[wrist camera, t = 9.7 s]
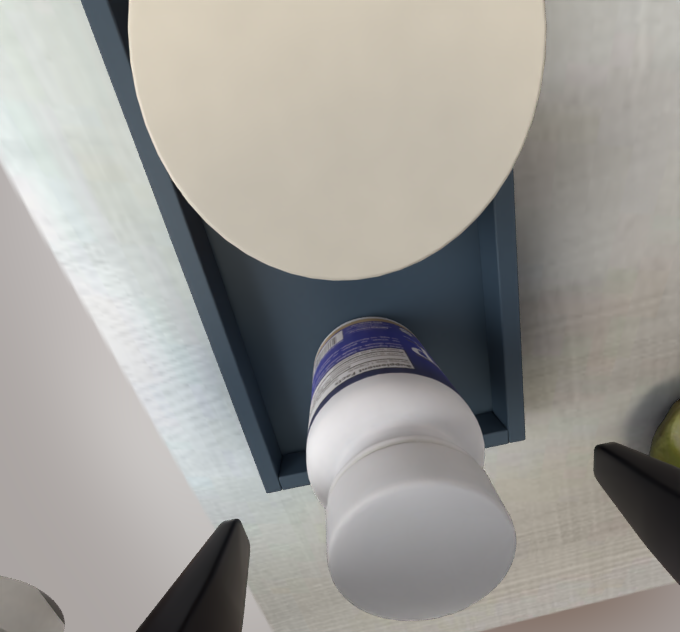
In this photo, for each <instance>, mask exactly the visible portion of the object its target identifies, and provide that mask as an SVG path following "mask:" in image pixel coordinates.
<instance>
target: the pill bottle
mask: <svg viewBox="0 0 680 632" xmlns="http://www.w3.org/2000/svg"><path fill="white" fill-rule="evenodd" d="M484 458H485V447H484V440H483V435H482V432H481V428H480V426H479V424H478V421H477V419H476V418H475V416H474V414H473V412H472V411H471V409H470V408H469V406H468V404H467V403H466V402H465V401H464V399H463V398H462V396H461V395H460V394H459V393H458V391H457V390H456V389H455V387H454V386H453V385H452V384H451V382H450V381H449V380H448V378H447V377H446V376H445V374H444V373H443V372H442V371H441V369H440V368H439V367H438V365H437V364H436V363H435V361H434V360H433V359H432V357H431V356H430V355H429V354H428V352H427V351H426V349H425V348H424V347H423V345H422V344H421V343H420V341H419V340H418V339H417V338H416V336H415V335H414V334H413V333H412V332H411V331H410V330H408V329H407V328H406V327H404V326H403V325H401V324H399V323H397V322H395V321H393V320H390V319H387V318H382V317H362V318H357V319H354V320H351V321H348V322H346V323H344V324H342V325H340V326H339V327H337V328H336V329H335V330H333V331H332V332H331V333H330V334H329V335H328V336H327V337H326V338H325V340H324V341H323V343H322V344H321V346H320V348H319V350H318V352H317V355H316V358H315V362H314V369H313V382H312V395H311V406H310V415H309V425H308V434H307V445H306V464H307V472H308V477H309V481H310V484H311V487H312V489H313V491H314V493H315V495H316V497H317V499H318V501H319V502H320V503H321V504H322V506H323V507H324V508H325V509H326V541H327V562H328V567H329V571H330V574H331V577H332V580H333V582H334V584H335V586H336V587H337V589H338V590H339V592H340V593H341V594H342V595H343V596H344V597H345V598H346V599H347V600H348V601H349V602H351V603H352V604H353V605H354V606H356V607H357V608H359V609H361V610H363V611H365V612H367V613H370V614H372V615H375V616H378V617H382V618H386V619H393V620H399V621H419V620H429V619H435V618H440V617H443V616H446V615H451V614H453V613H456V612H458V611H461V610H463V609H465V608H467V607H469V606H471V605H473V604H475V603H476V602H478V601H479V600H481V599H482V598H484V597H485V596H486V595H488V594H489V593H490V592H491V591H492V590H493V589H495V588H496V587H497V585H498V584H499V583H500V582H501V581H502V580H503V578H504V577H505V575H506V574H507V572H508V570H509V568H510V566H511V565H512V562H513V559H514V555H515V551H516V533H515V529H514V525H513V522H512V520H511V517H510V515H509V513H508V511H507V510H506V508H505V506H504V504H503V503H502V501H501V499H500V497H499V496H498V494H497V492H496V490H495V488H494V487H493V485H492V483H491V481H490V479H489V477H488V475H487V474H486V472H485V471H484V470H483V466H484Z"/></svg>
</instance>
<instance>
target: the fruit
mask: <svg viewBox="0 0 680 632" xmlns="http://www.w3.org/2000/svg"><path fill="white" fill-rule="evenodd" d="M649 456H651V457H653V458H656V459H658V460H661V461H663V462H666V463H668V464H671V465H673V466H676V467H678V468H680V399H679V400H677V401H676V402H675V403H674V404H673V405H672V407H671V408H670V410H669V412H668V413H667V415H666V417H665V419H664V420H663V422H662V423H661V424H660V426H659V427H658V429H657V431H656V433H655V435H654V437H653V440H652V445H651V450H650V455H649Z"/></svg>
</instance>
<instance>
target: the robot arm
mask: <svg viewBox="0 0 680 632" xmlns="http://www.w3.org/2000/svg"><path fill="white" fill-rule="evenodd" d="M594 475H595V477H596V479H597V481H598V482H599V484H600V485H601V486H602V488H603V489H604V490H605V492H606V493H607V495H608V496H609V497H610V499H611V500H612V501H613V503H614V504H615V505H616V507H617V508H618V509H619V511H620V512H621V513H622V515H623V516H624V517H625V519H626V520H627V521H628V523H629V524H630V525H631V527H632V528H633V529H634V531H635V532H636V533H637V535H638V536H639V537H640V539H641V540H642V541H643V543H644V544H645V545H646V546H647V548H648V549H649V550H650V551H651V553H652V554H653V555H654V556H655V557H656V558H657V560H658V561H659V562H660V563H661V564H662V565H663V567H664V568H665V569H666V570H667V571H668V572H669V573H670V575H671V576H672V577H673V578H674V579H675V580H676V581H677V583H678V584H679V585H680V468H678V467H676V466H673V465H671V464H668V463H666V462H663V461H661V460H658V459H656V458H653V457H651V456H648V455H646V454H643V453H641V452H638V451H636V450H633V449H631V448H628V447H626V446H623V445H621V444H618V443H615V442H609V443H604V444H599V445H597V446H596V447H595V449H594ZM249 557H250V543H249V540H248V537H247V535H246V532H245V530H244V528H243V525H242V523H241V521H240V520H239V519H232V520H228V521H224V522H222V523H221V524H220V525H219V526H218V528H217V529H216V530H215V531H214V533H213V534H212V535H211V537H210V538H209V539H208V540H207V542H206V543H205V544H204V546H203V547H202V548H201V549H200V551H199V552H198V553H197V554H196V556H195V557H194V558H193V559H192V561H191V562H190V563H189V565H188V566H187V567H186V568H185V570H184V571H183V572H182V573H181V575H180V576H179V577H178V579H177V580H176V581H175V582H174V584H173V585H172V586H171V588H170V589H169V590H168V591H167V593H166V594H165V595H164V597H163V598H162V599H161V600H160V602H159V603H158V604H157V606H156V607H155V608H154V609H153V610H152V612H151V613H150V614H149V616H148V617H147V618H146V620H145V621H144V622H143V623H142V624H141V626H140V627H139V628H138V630H137V631H136V632H242V625H243V617H244V616H243V615H244V607H245V597H246V587H247V577H248V567H249Z"/></svg>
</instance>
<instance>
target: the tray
mask: <svg viewBox="0 0 680 632" xmlns="http://www.w3.org/2000/svg"><path fill="white" fill-rule="evenodd" d="M81 2H82V5H83V8H84V10H85V13H86V16H87V18H88V21H89V24H90V26H91V29H92V32H93V34H94V37H95V40H96V42H97V45H98V47H99V50H100V53H101V55H102V58H103V61H104V63H105V66H106V69H107V71H108V74H109V77H110V79H111V82H112V85H113V87H114V90H115V93H116V95H117V98H118V100H119V103H120V106H121V108H122V111H123V114H124V116H125V119H126V122H127V124H128V127H129V130H130V132H131V135H132V138H133V140H134V143H135V146H136V148H137V151H138V153H139V156H140V159H141V161H142V164H143V167H144V169H145V172H146V175H147V177H148V180H149V183H150V185H151V188H152V191H153V193H154V196H155V199H156V201H157V204H158V206H159V209H160V212H161V214H162V217H163V220H164V222H165V225H166V228H167V230H168V233H169V236H170V238H171V241H172V244H173V246H174V249H175V252H176V254H177V257H178V260H179V262H180V265H181V267H182V270H183V273H184V275H185V278H186V281H187V283H188V286H189V289H190V291H191V294H192V297H193V299H194V302H195V305H196V307H197V310H198V313H199V315H200V318H201V320H202V323H203V326H204V328H205V331H206V334H207V336H208V339H209V342H210V344H211V347H212V350H213V352H214V355H215V358H216V360H217V363H218V366H219V368H220V371H221V373H222V376H223V379H224V381H225V384H226V387H227V389H228V392H229V395H230V397H231V400H232V403H233V405H234V408H235V411H236V413H237V416H238V419H239V421H240V424H241V426H242V429H243V432H244V434H245V437H246V440H247V442H248V445H249V448H250V450H251V453H252V456H253V458H254V461H255V464H256V466H257V469H258V472H259V474H260V477H261V479H262V482H263V485H264V487H265V490H266V493H271V492H276V491H281V490H282V489H283V490H286V489H290V488H295V487H300V486H305V485H310V481H309V477H308V472H307V464H306V445H307V434H308V425H309V415H310V406H311V395H312V382H313V369H314V362H315V358H316V355H317V352H318V350H319V348H320V346H321V344H322V343H323V341H324V340H325V338H326V337H327V336H328V335H329V334H330V333H331V332H332V331H333V330H335V329H336V328H337V327H339V326H340V325H342V324H344V323H346V322H348V321H351V320H354V319H357V318H362V317H382V318H387V319H390V320H393V321H395V322H397V323H399V324H401V325H403V326H404V327H406V328H407V329H408V330H410V331H411V332H412V333H413V334H414V335H415V336H416V338H417V339H418V340H419V341H420V343H421V344H422V345H423V347H424V348H425V349H426V351H427V352H428V354H429V355H430V356H431V357H432V359H433V360H434V361H435V363H436V364H437V365H438V367H439V368H440V369H441V371H442V372H443V373H444V374H445V376H446V377H447V378H448V380H449V381H450V382H451V384H452V385H453V386H454V387H455V389H456V390H457V391H458V393H459V394H460V395H461V396H462V398H463V399H464V401H465V402H466V403H467V404H468V406H469V408H470V409H471V411H472V412H473V414H474V416H475V418H476V419H477V421H478V424H479V426H480V428H481V432H482V435H483V440H484V447H485V448H489V447H494V446H498V445H503V444H508V443H509V442H510V443H512V442H517V441H522V440H525V419H524V397H523V376H522V354H521V332H520V310H519V288H518V266H517V244H516V222H515V200H514V178H513V168H512V170H511V172H510V174H509V176H508V177H507V179H506V180H505V182H504V183H503V185H502V186H501V188H500V189H499V191H498V193H497V194H496V196H495V197H494V198H493V200H492V201H491V202H490V203H489V204H488V206H487V207H486V208H485V209H484V211H483V212H482V213H481V214H480V216H479V217H478V218H477V219H476V220H475V221H474V222H473V223H472V224H471V225H470V226H469V227H468V228H466V229H465V230H464V231H463V232H462V233H461V234H460V235H459V236H458V237H456V238H455V239H454V240H452V241H451V242H450V243H449V244H447V245H446V246H445V247H443V248H442V249H441V250H439V251H437V252H436V253H434V254H432V255H430V256H429V257H427V258H425V259H424V260H422V261H420V262H418V263H415V264H413V265H411V266H409V267H406V268H404V269H402V270H399V271H396V272H392V273H389V274H385V275H382V276H379V277H372V278H366V279H360V280H340V281H332V280H322V279H313V278H308V277H304V276H299V275H295V274H291V273H288V272H285V271H282V270H280V269H277V268H274V267H271V266H269V265H267V264H265V263H263V262H261V261H259V260H257V259H255V258H253V257H251V256H249V255H247V254H246V253H244V252H243V251H241V250H240V249H238V248H237V247H235V246H234V245H233V244H231V243H230V242H228V241H227V240H225V239H224V238H223V237H222V236H221V235H220V234H219V233H217V232H216V231H215V230H214V229H213V228H212V227H211V226H209V225H208V224H207V223H206V222H205V221H204V220H203V218H202V217H201V216H200V215H199V214H198V213H197V212H196V211H195V210H194V208H193V207H192V206H191V205H190V204H189V203H188V201H187V200H186V199H185V197H184V196H183V195H182V193H181V192H180V190H179V189H178V188H177V186H176V185H175V183H174V182H173V181H172V179H171V177H170V175H169V173H168V172H167V170H166V168H165V166H164V165H163V163H162V161H161V159H160V157H159V156H158V153H157V151H156V149H155V146H154V144H153V142H152V139H151V137H150V135H149V132H148V130H147V128H146V125H145V122H144V118H143V115H142V112H141V108H140V105H139V102H138V99H137V95H136V90H135V85H134V79H133V74H132V68H131V63H130V50H129V37H128V14H129V0H81Z"/></svg>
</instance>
